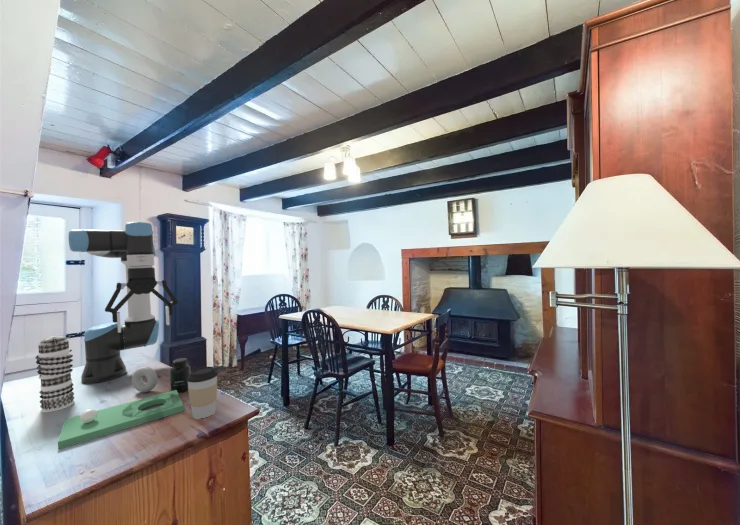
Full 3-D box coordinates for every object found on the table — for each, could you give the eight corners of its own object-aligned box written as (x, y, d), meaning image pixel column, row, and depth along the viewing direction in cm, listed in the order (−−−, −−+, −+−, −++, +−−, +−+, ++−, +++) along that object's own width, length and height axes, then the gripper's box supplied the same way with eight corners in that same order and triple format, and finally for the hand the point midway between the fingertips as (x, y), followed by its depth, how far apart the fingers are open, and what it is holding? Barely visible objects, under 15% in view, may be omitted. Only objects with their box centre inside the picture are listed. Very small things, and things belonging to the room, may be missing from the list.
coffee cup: (187, 424, 95) (185, 376, 95) (189, 411, 103) (187, 367, 103) (219, 416, 99) (217, 370, 99) (219, 404, 107) (217, 362, 107)
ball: (81, 421, 95) (80, 409, 95) (98, 417, 97) (97, 404, 97) (79, 427, 92) (78, 414, 92) (97, 422, 94) (96, 409, 94)
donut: (160, 390, 121) (159, 365, 120) (153, 394, 117) (152, 368, 117) (137, 389, 122) (136, 365, 121) (129, 393, 118) (128, 368, 118)
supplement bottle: (176, 395, 116) (174, 364, 115) (167, 391, 119) (165, 361, 119) (194, 388, 121) (193, 358, 121) (185, 384, 125) (184, 355, 125)
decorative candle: (39, 407, 110) (34, 338, 109) (74, 397, 116) (70, 332, 116) (38, 416, 103) (33, 343, 102) (76, 405, 110) (72, 336, 109)
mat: (66, 425, 97) (65, 419, 97) (176, 394, 116) (176, 389, 116) (58, 449, 85) (57, 442, 84) (183, 410, 104) (183, 405, 103)
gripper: (91, 269, 95) (96, 337, 95) (184, 265, 111) (187, 323, 111) (93, 269, 100) (97, 332, 101) (181, 265, 116) (184, 320, 117)
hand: (144, 328), depth 106 cm, fingers open, 13 cm apart
